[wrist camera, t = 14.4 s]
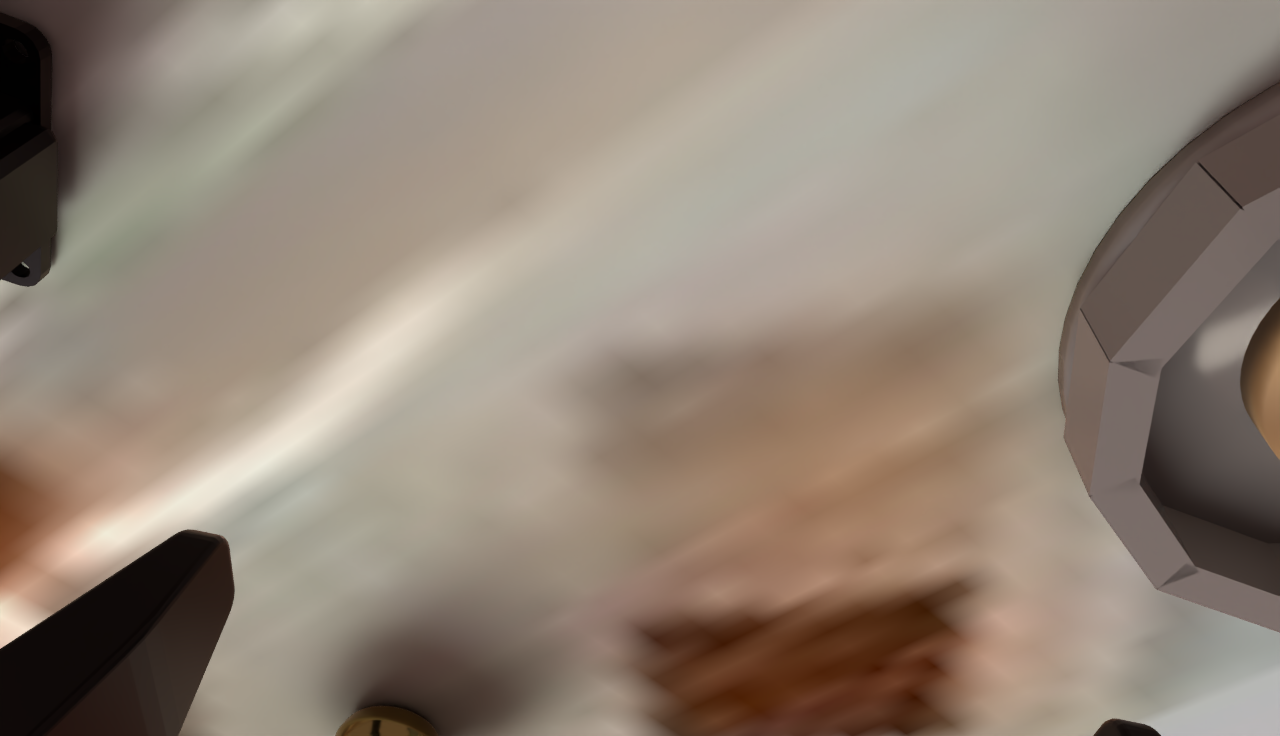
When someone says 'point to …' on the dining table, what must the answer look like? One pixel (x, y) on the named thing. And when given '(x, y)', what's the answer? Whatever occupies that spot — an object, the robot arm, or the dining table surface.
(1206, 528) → the round tray
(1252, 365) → the disc
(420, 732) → the cup
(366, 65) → the dining table surface
